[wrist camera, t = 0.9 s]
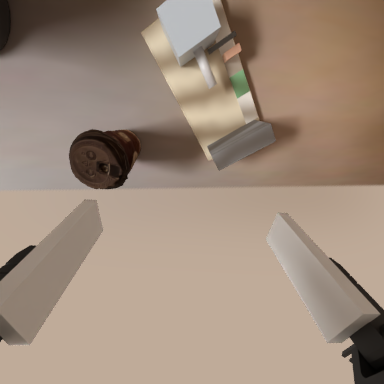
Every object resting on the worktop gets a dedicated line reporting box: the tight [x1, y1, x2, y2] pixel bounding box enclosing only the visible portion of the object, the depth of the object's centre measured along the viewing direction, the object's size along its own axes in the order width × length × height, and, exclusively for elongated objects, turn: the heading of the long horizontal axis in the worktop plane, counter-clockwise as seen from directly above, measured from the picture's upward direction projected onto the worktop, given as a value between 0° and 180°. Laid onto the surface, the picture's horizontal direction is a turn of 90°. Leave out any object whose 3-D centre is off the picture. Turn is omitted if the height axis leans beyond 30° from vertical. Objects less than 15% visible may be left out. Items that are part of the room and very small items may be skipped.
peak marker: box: [222, 43, 242, 63], centre depth 25 cm, size 1×2×2 cm, turn 119°
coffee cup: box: [69, 129, 141, 189], centre depth 27 cm, size 9×8×13 cm
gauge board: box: [141, 0, 276, 170], centre depth 25 cm, size 23×12×8 cm, turn 29°
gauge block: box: [156, 0, 236, 89], centre depth 22 cm, size 10×9×6 cm
